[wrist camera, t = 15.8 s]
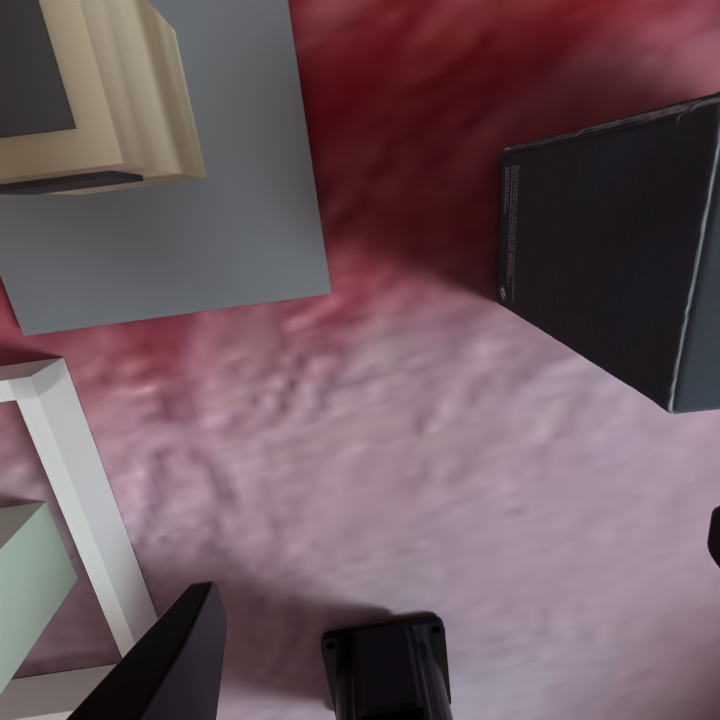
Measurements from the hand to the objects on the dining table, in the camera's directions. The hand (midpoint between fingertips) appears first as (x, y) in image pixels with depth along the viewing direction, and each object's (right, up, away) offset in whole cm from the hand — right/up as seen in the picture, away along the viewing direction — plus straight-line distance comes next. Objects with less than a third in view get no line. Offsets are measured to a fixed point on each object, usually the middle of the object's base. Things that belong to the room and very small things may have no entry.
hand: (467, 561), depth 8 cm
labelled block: (-10, +12, +7) cm, 17 cm away
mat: (-10, +12, +8) cm, 18 cm away
